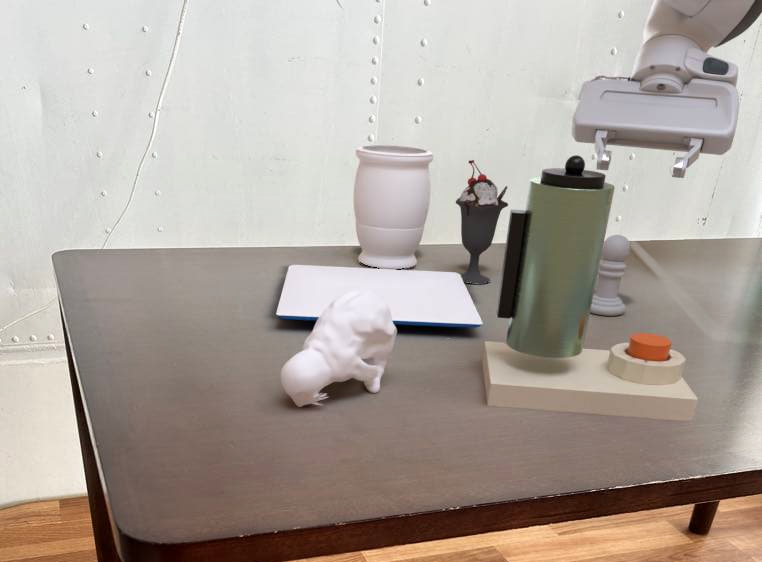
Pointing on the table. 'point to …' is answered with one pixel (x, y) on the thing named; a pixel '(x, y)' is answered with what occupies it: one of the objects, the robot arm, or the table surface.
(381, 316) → the white hunched creature figure
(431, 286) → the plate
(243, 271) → the table surface
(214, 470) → the table surface
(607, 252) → the chess piece
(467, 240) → the sundae
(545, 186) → the kettle
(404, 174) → the jar
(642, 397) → the kettle base
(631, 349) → the kettle switch
